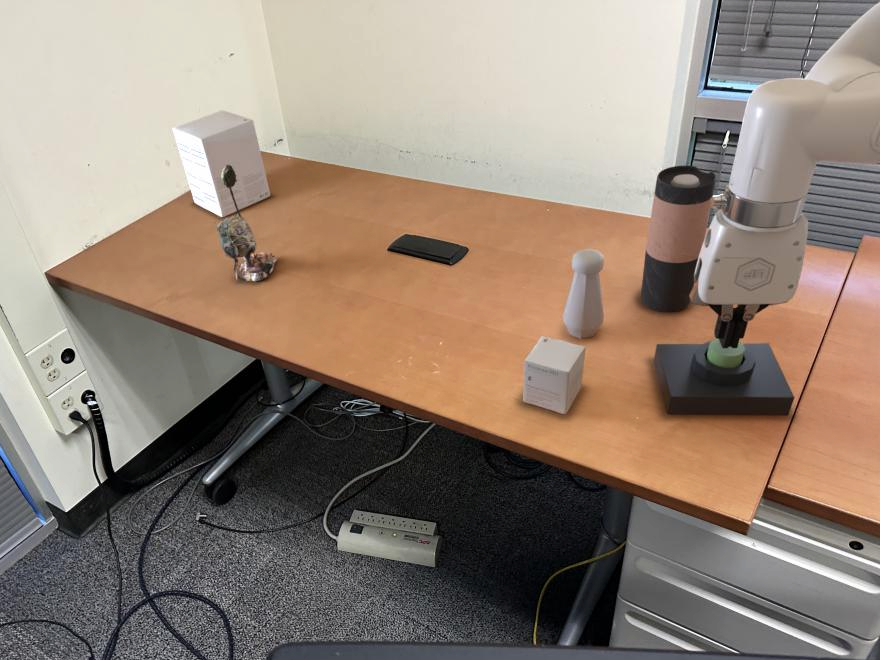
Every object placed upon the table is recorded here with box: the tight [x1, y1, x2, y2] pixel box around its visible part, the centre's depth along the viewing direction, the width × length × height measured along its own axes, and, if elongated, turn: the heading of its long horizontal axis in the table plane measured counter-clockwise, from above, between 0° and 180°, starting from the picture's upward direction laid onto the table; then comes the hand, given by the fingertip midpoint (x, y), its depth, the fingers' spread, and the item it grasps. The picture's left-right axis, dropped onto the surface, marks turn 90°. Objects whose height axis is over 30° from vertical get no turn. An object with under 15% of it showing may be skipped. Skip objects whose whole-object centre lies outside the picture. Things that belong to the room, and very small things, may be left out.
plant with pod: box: [214, 165, 279, 282], centre depth 123 cm, size 8×11×20 cm
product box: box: [522, 335, 587, 415], centre depth 90 cm, size 6×6×7 cm
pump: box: [707, 338, 745, 368], centre depth 86 cm, size 4×4×2 cm
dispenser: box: [653, 340, 796, 417], centre depth 88 cm, size 14×11×5 cm
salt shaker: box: [562, 248, 605, 340], centre depth 99 cm, size 6×6×13 cm
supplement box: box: [172, 110, 271, 218], centre depth 152 cm, size 13×13×18 cm
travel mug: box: [640, 165, 717, 313], centre depth 100 cm, size 8×8×20 cm
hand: (726, 341), depth 85 cm, fingers closed
